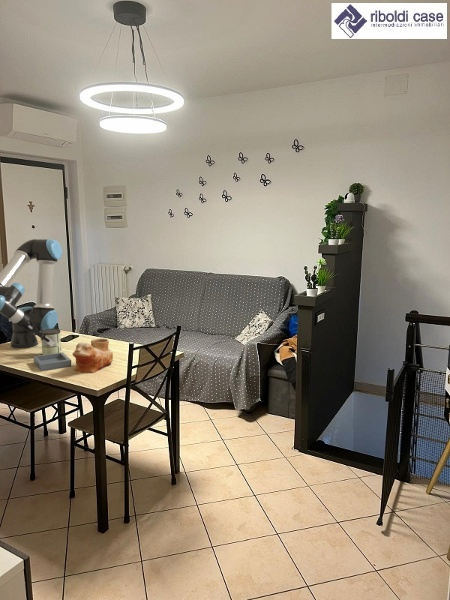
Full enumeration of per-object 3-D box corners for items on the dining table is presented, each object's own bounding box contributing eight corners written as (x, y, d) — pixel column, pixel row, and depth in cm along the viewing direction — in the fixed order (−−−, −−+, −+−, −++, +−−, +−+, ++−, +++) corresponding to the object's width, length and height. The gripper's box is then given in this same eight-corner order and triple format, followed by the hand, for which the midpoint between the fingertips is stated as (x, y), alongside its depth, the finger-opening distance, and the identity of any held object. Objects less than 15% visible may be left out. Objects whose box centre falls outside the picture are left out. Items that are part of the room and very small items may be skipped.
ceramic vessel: (65, 373, 220) (63, 344, 218) (97, 359, 245) (96, 332, 242) (88, 377, 216) (87, 347, 213) (119, 361, 240) (118, 334, 237)
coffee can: (40, 354, 252) (39, 330, 250) (59, 351, 258) (58, 327, 255) (44, 358, 244) (42, 333, 241) (63, 356, 249) (62, 331, 247)
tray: (33, 362, 237) (33, 356, 236) (62, 358, 245) (62, 352, 244) (41, 371, 223) (40, 364, 222) (71, 366, 231) (71, 359, 230)
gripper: (10, 319, 247) (40, 342, 258) (18, 328, 227) (50, 352, 237) (20, 309, 249) (50, 332, 260) (29, 317, 229) (60, 341, 239)
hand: (50, 342), depth 249 cm, fingers open, 13 cm apart
